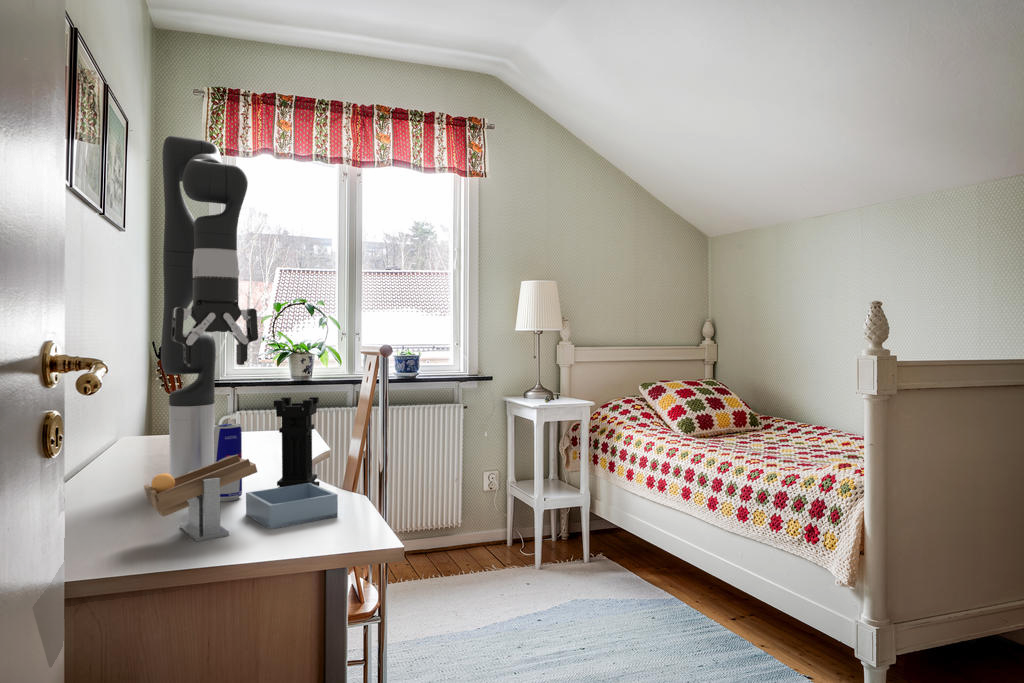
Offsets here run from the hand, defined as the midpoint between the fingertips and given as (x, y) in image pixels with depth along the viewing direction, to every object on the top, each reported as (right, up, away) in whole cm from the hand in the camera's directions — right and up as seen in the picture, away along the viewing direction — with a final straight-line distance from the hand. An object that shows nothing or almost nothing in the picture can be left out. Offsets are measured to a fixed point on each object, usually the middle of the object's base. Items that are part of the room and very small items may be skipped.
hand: (216, 365), depth 121 cm
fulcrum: (+2, -28, -8) cm, 29 cm away
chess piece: (+10, -27, +14) cm, 32 cm away
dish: (+13, -27, +1) cm, 30 cm away
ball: (-3, -19, -13) cm, 23 cm away
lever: (+1, -21, -6) cm, 22 cm away
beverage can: (-3, -27, +13) cm, 31 cm away
